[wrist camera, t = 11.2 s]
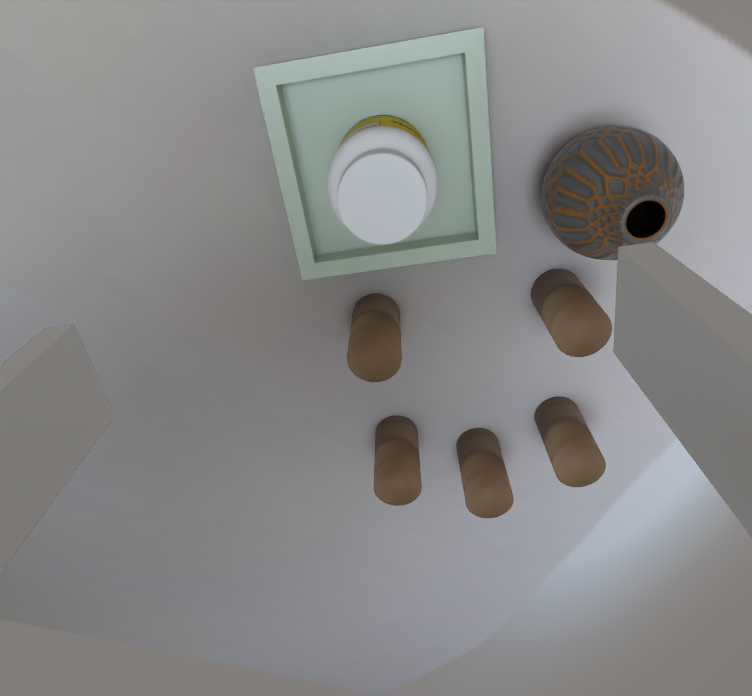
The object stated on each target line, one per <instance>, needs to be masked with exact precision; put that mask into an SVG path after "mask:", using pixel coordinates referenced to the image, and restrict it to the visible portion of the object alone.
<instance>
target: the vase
mask: <svg viewBox="0 0 752 696" xmlns="http://www.w3.org/2000/svg"><path fill="white" fill-rule="evenodd" d="M541 199H542V208H543V213H544V216H545V219H546V221H547V223H548V225H549V227H550V228H551V230H552V231H553V233H554V234H555V236H556V237H557V238H558V239H559V240H560V241H561V242H562V243H563V244H564V245H565V246H567V247H568V248H570V249H571V250H573V251H575V252H576V253H579V254H581V255H583V256H586V257H590V258H594V259H600V260H618V247H620V246H627V245H634V244H642V243H649V242H654V243H655V244H657V243H658V242H659V241H660V240H661V239H662V238H663V237H664V236H665V235H666V234H667V233H668V232H669V231H670V229H671V228H672V227H673V225H674V223H675V222H676V220H677V218H678V216H679V213H680V211H681V208H682V204H683V199H684V181H683V176H682V172H681V169H680V166H679V164H678V162H677V160H676V158H675V156H674V155H673V154H672V152H671V151H670V149H669V148H668V147H667V146H666V145H665V144H664V143H663V142H662V141H660V140H659V139H658V138H656V137H655V136H653V135H651V134H649V133H647V132H645V131H643V130H640V129H636V128H632V127H627V126H604V127H599V128H596V129H592V130H589V131H587V132H585V133H582V134H580V135H579V136H577V137H575V138H574V139H572V140H571V141H570V142H568V143H567V144H566V145H565V146H564V147H563V148H562V149H561V150H560V151H559V152H558V153H557V154H556V156H555V157H554V158H553V160H552V161H551V163H550V165H549V167H548V169H547V171H546V174H545V177H544V180H543V184H542V192H541Z"/></svg>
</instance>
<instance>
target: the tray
mask: <svg viewBox="0 0 752 696" xmlns="http://www.w3.org/2000/svg"><path fill="white" fill-rule="evenodd" d="M253 71H254V75H255V80H256V84H257V88H258V93H259V97H260V101H261V105H262V110H263V114H264V118H265V123H266V127H267V131H268V136H269V140H270V144H271V148H272V153H273V157H274V161H275V166H276V170H277V174H278V179H279V183H280V187H281V192H282V196H283V200H284V204H285V209H286V213H287V217H288V222H289V226H290V230H291V235H292V239H293V243H294V248H295V252H296V256H297V260H298V265H299V269H300V273H301V278H302V281H303V280H310V279H317V278H324V277H331V276H338V275H345V274H353V273H360V272H367V271H374V270H381V269H388V268H395V267H402V266H409V265H416V264H424V263H431V262H438V261H445V260H452V259H459V258H466V257H473V256H480V255H487V254H495V253H497V251H496V234H495V216H494V199H493V182H492V165H491V147H490V130H489V113H488V96H487V79H486V61H485V44H484V27H481V28H475V29H469V30H463V31H458V32H452V33H446V34H441V35H435V36H429V37H424V38H418V39H413V40H407V41H401V42H396V43H390V44H384V45H379V46H373V47H367V48H362V49H356V50H350V51H345V52H339V53H333V54H328V55H322V56H317V57H311V58H305V59H300V60H294V61H288V62H283V63H277V64H271V65H266V66H260V67H255V68H253ZM376 115H392V116H396V117H399V118H401V119H403V120H405V121H407V122H409V123H410V124H411V125H413V126H414V127H415V128H416V129H417V130H418V132H419V133H420V134H421V136H422V137H423V139H424V140H425V142H426V145H427V147H428V149H429V152H430V154H431V156H432V158H433V160H434V163H435V166H436V170H437V175H438V193H437V198H436V202H435V205H434V207H433V209H432V211H431V213H430V215H429V216H428V218H427V219H426V221H425V222H424V223H423V224H422V225H421V226H420V227H419V228H417V229H416V230H415V231H414V232H413V233H412V234H411V235H409V236H408V237H407V238H405V239H403V240H401V241H399V242H396V243H392V244H386V245H379V244H372V243H369V242H366V241H364V240H361V239H360V238H358V237H357V236H355V235H354V234H353V233H351V232H350V231H349V230H348V229H347V228H345V227H344V226H343V224H342V223H341V222H340V221H339V220H338V218H337V217H336V215H335V214H334V212H333V210H332V208H331V205H330V202H329V199H328V194H327V175H328V170H329V166H330V163H331V161H332V158H333V156H334V154H335V153H336V151H337V149H338V147H339V145H340V143H341V141H342V139H343V137H344V136H345V135H346V133H347V132H348V131H349V130H350V129H351V128H352V127H353V126H354V125H356V124H357V123H358V122H360V121H361V120H363V119H366V118H368V117H371V116H376Z"/></svg>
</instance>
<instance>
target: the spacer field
mask: <svg viewBox="0 0 752 696" xmlns="http://www.w3.org/2000/svg"><path fill="white" fill-rule="evenodd" d="M531 298H532V302H533V304H534V306H535V307H536V309H537V311H538V313H539V315H540V316H541V318H542V320H543V322H544V324H545V325H546V327H547V329H548V331H549V333H550V334H551V336H552V338H553V340H554V342H555V343H556V345H557V347H558V348H559V349H560V350H561V351H562V352H563V353H565V354H567V355H569V356H573V357H584V356H588V355H591V354H594V353H595V352H597V351H599V350H600V349H601V348H602V347H603V346H604V345H605V344H606V343H607V342H608V340H609V338H610V335H611V331H612V325H611V321H610V319H609V317H608V316H607V314H606V313H605V312H604V311H603V309H602V308H601V307H600V306H599V304H598V303H597V302H596V301H595V299H594V298H593V297H592V296H591V294H590V293H589V292H588V291H587V289H586V288H585V287H584V286H583V284H582V283H581V282H580V281H579V279H578V278H577V277H576V276H575V275H574V274H573V273H572V272H570V271H568V270H565V269H553V270H549V271H547V272H545V273H543V274H542V275H541V276H540V277H538V279H537V280H536V281H535V283H534V284H533V287H532V290H531ZM401 360H402V355H401V331H400V312H399V308H398V306H397V304H396V303H395V302H394V301H393V300H392V299H391V298H389V297H388V296H385V295H382V294H370V295H367V296H365V297H363V298H361V299H360V300H359V301H358V302H357V304H356V305H355V307H354V310H353V316H352V324H351V331H350V339H349V347H348V354H347V362H348V365H349V368H350V369H351V371H352V372H353V373H354V374H355V375H356V376H357V377H359V378H360V379H362V380H365V381H369V382H380V381H384V380H387V379H389V378H391V377H392V376H393V375H395V374H396V372H397V371H398V370H399V368H400V365H401ZM535 422H536V424H537V427H538V430H539V432H540V435H541V437H542V440H543V443H544V445H545V448H546V450H547V453H548V455H549V458H550V461H551V463H552V466H553V468H554V471H555V474H556V476H557V478H558V479H559V481H560V482H562V483H563V484H565V485H567V486H571V487H583V486H587V485H590V484H592V483H594V482H595V481H597V480H598V479H599V478H600V477H601V476H602V475H603V473H604V471H605V467H606V463H605V460H604V457H603V456H602V454H601V452H600V450H599V448H598V446H597V444H596V442H595V440H594V438H593V436H592V434H591V432H590V430H589V429H588V427H587V425H586V423H585V421H584V419H583V417H582V415H581V413H580V411H579V409H578V407H577V405H576V404H575V403H574V402H573V401H572V400H570V399H568V398H565V397H554V398H550V399H548V400H546V401H544V402H543V403H542V404H540V406H539V407H538V408H537V410H536V412H535ZM456 446H457V453H458V459H459V465H460V471H461V477H462V483H463V489H464V495H465V501H466V506H467V508H468V510H469V511H470V512H471V513H472V514H474V515H476V516H478V517H482V518H494V517H498V516H500V515H503V514H504V513H506V512H507V511H508V510H509V509H510V508H511V506H512V504H513V494H512V490H511V487H510V483H509V479H508V476H507V472H506V468H505V465H504V461H503V457H502V454H501V450H500V446H499V443H498V439H497V437H496V436H495V435H494V434H493V433H492V432H491V431H489V430H486V429H482V428H476V429H471V430H468V431H466V432H465V433H463V434H462V435H461V436H460V437H459V439H458V441H457V445H456ZM421 488H422V487H421V473H420V460H419V446H418V433H417V428H416V426H415V424H414V423H413V422H412V421H411V420H409V419H408V418H405V417H402V416H391V417H388V418H386V419H384V420H382V421H381V422H380V423H379V424H378V426H377V428H376V435H375V465H374V492H375V494H376V496H377V497H378V498H379V499H380V500H381V501H383V502H385V503H387V504H390V505H405V504H408V503H411V502H412V501H414V500H415V499H416V498H417V497H418V496H419V495H420V493H421Z"/></svg>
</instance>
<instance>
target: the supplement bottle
mask: <svg viewBox="0 0 752 696" xmlns="http://www.w3.org/2000/svg"><path fill="white" fill-rule="evenodd" d="M437 193H438V175H437V170H436V166H435V163H434V160H433V158H432V156H431V154H430V152H429V149H428V147H427V145H426V142H425V140H424V139H423V137H422V136H421V134H420V133H419V132H418V130H417V129H416V128H415V127H414V126H413V125H411V124H410V123H409V122H407V121H405V120H403V119H401V118H399V117H396V116H392V115H376V116H371V117H368V118H366V119H363V120H361V121H360V122H358V123H357V124H356V125H354V126H353V127H352V128H351V129H350V130H349V131H348V132H347V133H346V135H345V136H344V137H343V139H342V141H341V143H340V145H339V147H338V149H337V151H336V153H335V154H334V156H333V158H332V161H331V163H330V166H329V170H328V175H327V194H328V199H329V202H330V205H331V208H332V210H333V212H334V214H335V215H336V217H337V218H338V220H339V221H340V222H341V223H342V224H343V226H344V227H345V228H347V229H348V230H349V231H350V232H351V233H353V234H354V235H355V236H357V237H358V238H360V239H361V240H364V241H366V242H369V243H372V244H379V245H386V244H392V243H396V242H399V241H401V240H403V239H405V238H407V237H408V236H409V235H411V234H412V233H413V232H414V231H415V230H416V229H417V228H419V227H420V226H421V225H422V224H423V223H424V222H425V221H426V219H427V218H428V216H429V215H430V213H431V211H432V209H433V207H434V205H435V202H436V198H437Z"/></svg>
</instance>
